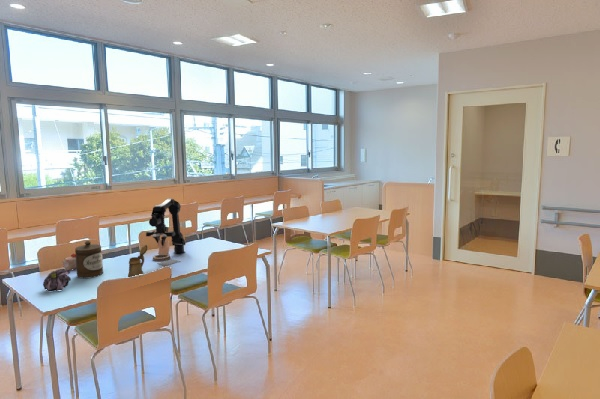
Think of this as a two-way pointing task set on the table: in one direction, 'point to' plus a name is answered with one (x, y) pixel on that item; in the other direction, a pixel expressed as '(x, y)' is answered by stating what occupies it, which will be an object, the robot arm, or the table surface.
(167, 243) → the peach rounded piece
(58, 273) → the decorative flower
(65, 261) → the food item
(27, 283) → the table surface
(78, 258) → the wooden container
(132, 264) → the wooden mug
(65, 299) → the table surface
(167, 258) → the collar
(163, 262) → the mat
